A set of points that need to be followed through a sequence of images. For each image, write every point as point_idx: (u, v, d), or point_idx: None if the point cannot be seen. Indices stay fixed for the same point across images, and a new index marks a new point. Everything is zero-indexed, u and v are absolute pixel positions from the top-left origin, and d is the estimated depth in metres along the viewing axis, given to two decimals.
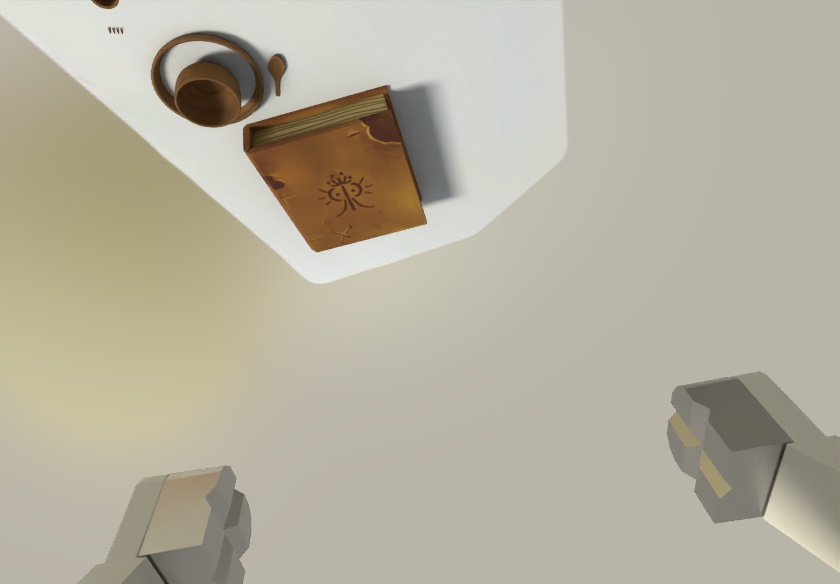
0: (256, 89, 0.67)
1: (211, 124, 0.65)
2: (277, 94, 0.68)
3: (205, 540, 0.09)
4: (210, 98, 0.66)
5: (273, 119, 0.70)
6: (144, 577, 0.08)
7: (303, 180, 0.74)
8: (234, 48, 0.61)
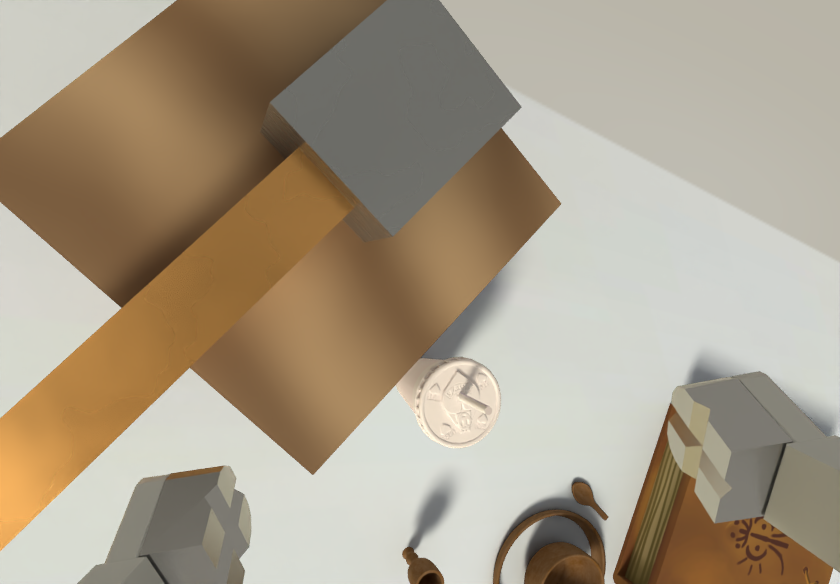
0: (586, 533, 0.55)
1: None
2: (604, 517, 0.56)
3: (205, 540, 0.09)
4: None
5: (627, 542, 0.56)
6: (144, 577, 0.08)
7: (716, 571, 0.54)
8: (542, 516, 0.52)
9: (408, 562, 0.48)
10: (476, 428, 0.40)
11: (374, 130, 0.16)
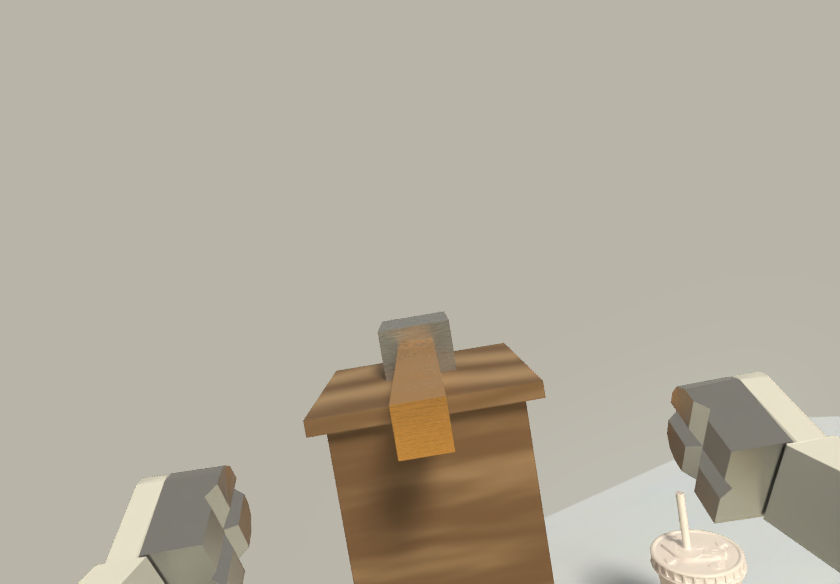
0: None
1: None
2: None
3: (205, 540, 0.09)
4: None
5: None
6: (144, 577, 0.08)
7: None
8: None
9: None
10: (728, 550, 0.41)
11: (412, 323, 0.41)
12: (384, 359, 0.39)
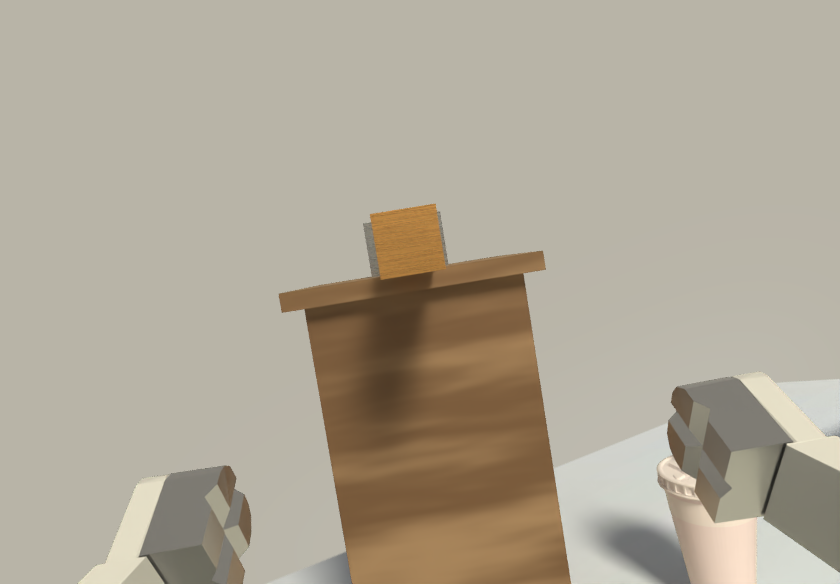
0: None
1: None
2: None
3: (205, 540, 0.09)
4: None
5: None
6: (144, 577, 0.08)
7: None
8: None
9: None
10: None
11: None
12: (370, 253, 0.36)
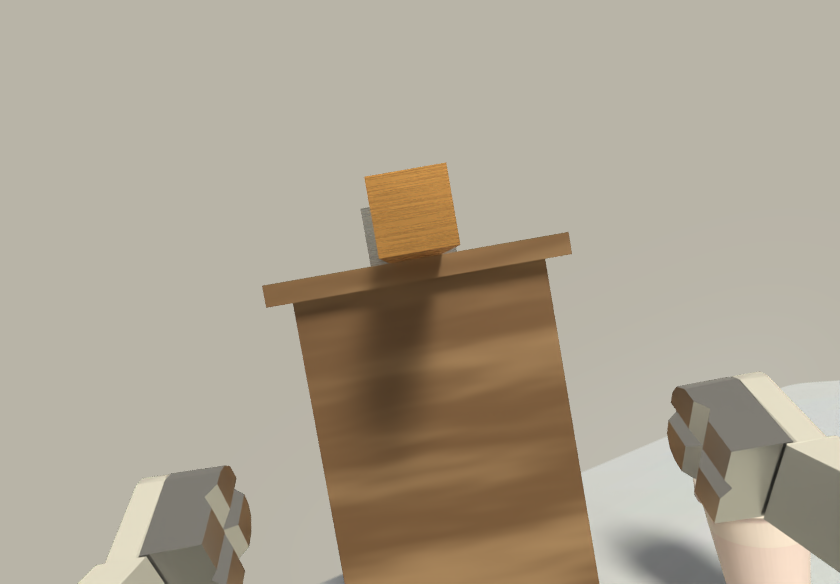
0: None
1: None
2: None
3: (205, 540, 0.09)
4: None
5: None
6: (144, 577, 0.08)
7: None
8: None
9: None
10: None
11: None
12: (369, 242, 0.32)
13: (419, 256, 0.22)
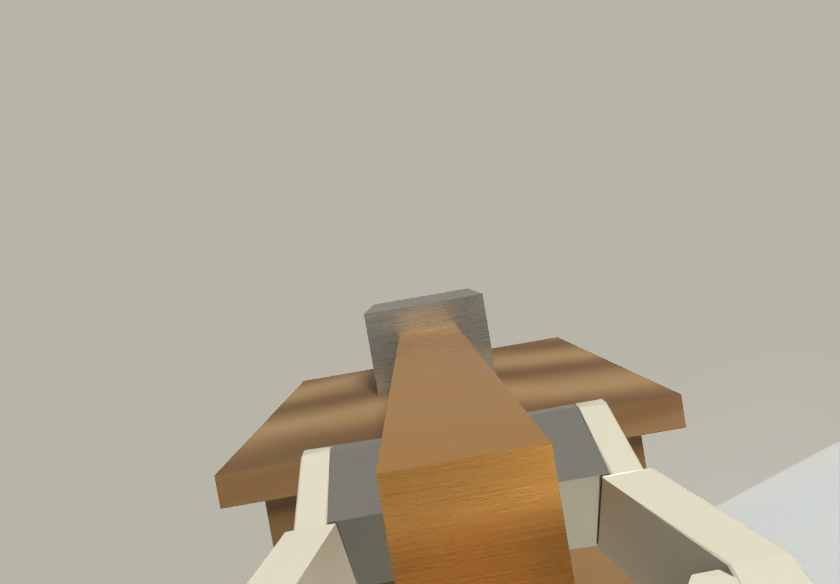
0: None
1: None
2: None
3: None
4: None
5: None
6: (333, 544, 0.08)
7: None
8: None
9: None
10: None
11: (420, 301, 0.25)
12: (375, 360, 0.24)
13: None
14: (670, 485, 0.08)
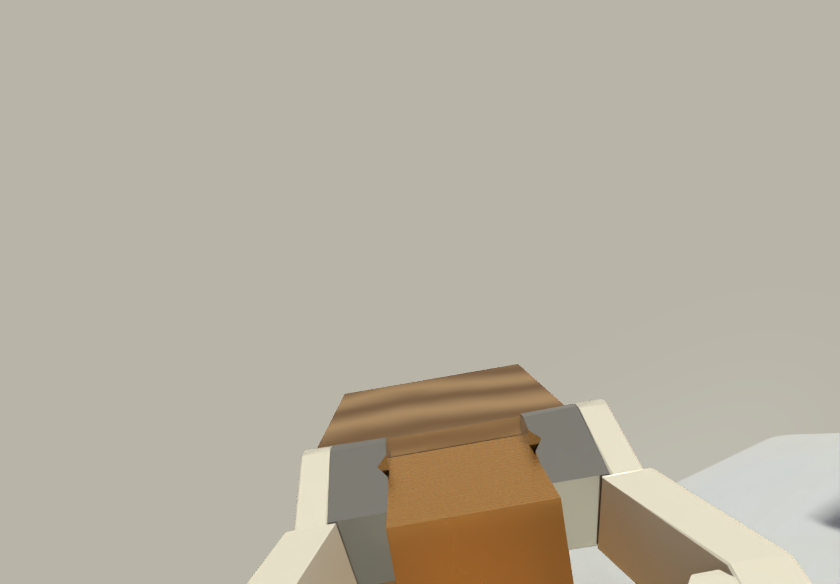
0: None
1: None
2: None
3: None
4: None
5: None
6: (333, 544, 0.08)
7: None
8: None
9: None
10: None
11: None
12: None
13: None
14: (670, 485, 0.08)
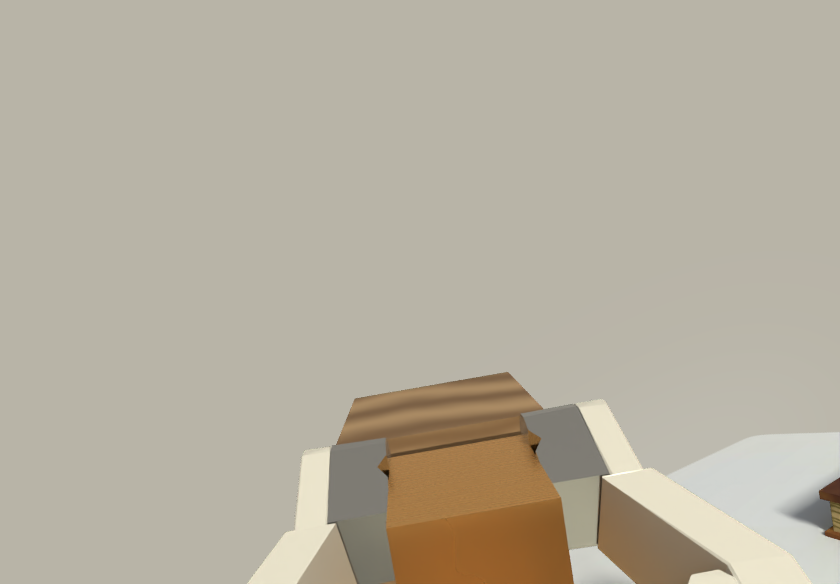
0: None
1: None
2: None
3: None
4: None
5: None
6: (333, 544, 0.08)
7: None
8: None
9: None
10: None
11: None
12: None
13: None
14: (670, 485, 0.08)
